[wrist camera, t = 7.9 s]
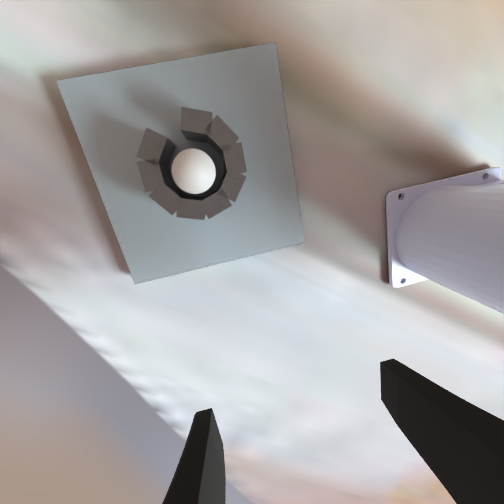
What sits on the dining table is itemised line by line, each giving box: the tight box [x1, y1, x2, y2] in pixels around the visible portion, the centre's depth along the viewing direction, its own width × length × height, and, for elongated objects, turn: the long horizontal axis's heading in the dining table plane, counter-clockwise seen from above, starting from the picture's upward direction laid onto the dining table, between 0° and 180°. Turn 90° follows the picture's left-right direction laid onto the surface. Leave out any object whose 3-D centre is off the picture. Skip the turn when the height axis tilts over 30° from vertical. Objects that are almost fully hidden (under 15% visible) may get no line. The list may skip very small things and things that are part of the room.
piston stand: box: [56, 42, 305, 284], centre depth 14 cm, size 12×12×5 cm
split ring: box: [136, 107, 247, 220], centre depth 14 cm, size 5×5×3 cm
